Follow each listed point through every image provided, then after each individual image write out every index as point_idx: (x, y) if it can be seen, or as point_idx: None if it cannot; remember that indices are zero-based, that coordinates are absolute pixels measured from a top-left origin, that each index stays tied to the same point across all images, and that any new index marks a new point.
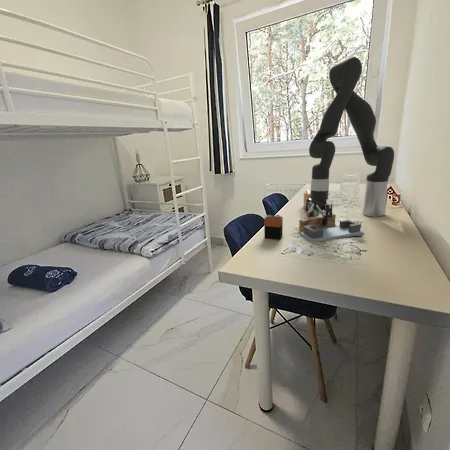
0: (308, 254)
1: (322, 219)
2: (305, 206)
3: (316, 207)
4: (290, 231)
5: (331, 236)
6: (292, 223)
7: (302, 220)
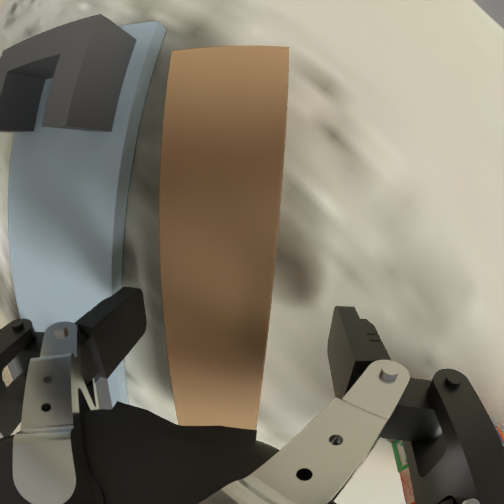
0: (15, 6)
1: (97, 319)
2: (501, 441)
3: (157, 477)
4: (283, 3)
5: (9, 189)
6: (458, 179)
7: (207, 47)
